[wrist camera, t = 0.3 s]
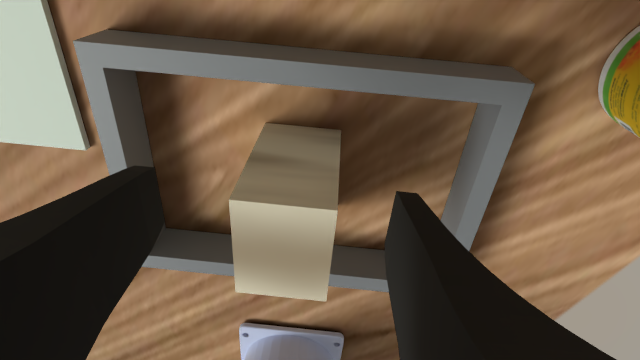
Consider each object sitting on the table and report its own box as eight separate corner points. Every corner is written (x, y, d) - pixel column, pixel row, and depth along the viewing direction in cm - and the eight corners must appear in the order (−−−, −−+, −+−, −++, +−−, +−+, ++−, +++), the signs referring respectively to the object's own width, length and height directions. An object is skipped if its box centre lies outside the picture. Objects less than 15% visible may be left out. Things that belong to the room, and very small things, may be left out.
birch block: (332, 206, 22) (326, 301, 16) (265, 199, 22) (235, 291, 16) (341, 130, 19) (337, 210, 13) (265, 122, 19) (228, 199, 14)
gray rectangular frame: (441, 267, 24) (450, 298, 22) (153, 238, 24) (134, 265, 22) (512, 67, 17) (535, 84, 15) (106, 29, 17) (72, 40, 15)
